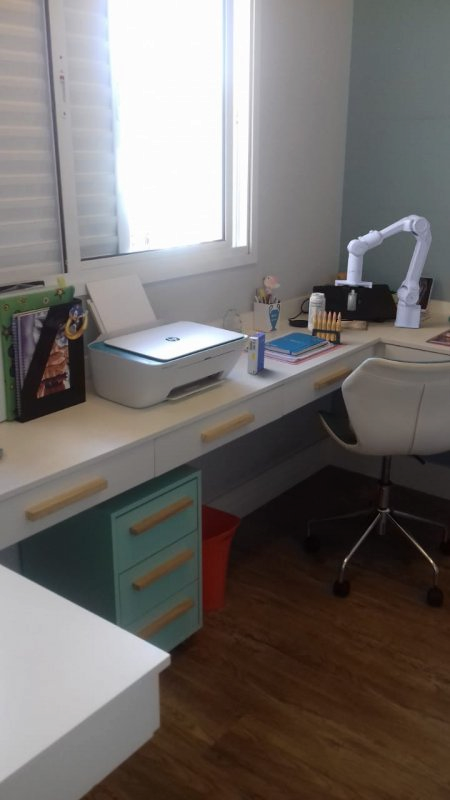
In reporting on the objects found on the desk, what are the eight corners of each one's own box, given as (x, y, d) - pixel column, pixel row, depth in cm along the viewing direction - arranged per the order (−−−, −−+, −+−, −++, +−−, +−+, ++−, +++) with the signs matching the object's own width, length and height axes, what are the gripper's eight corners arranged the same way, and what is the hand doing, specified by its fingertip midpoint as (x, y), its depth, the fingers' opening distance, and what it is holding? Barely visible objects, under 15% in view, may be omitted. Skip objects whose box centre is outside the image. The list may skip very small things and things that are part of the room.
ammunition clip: (311, 341, 274) (313, 310, 270) (311, 340, 276) (314, 309, 272) (339, 344, 271) (342, 313, 267) (340, 343, 273) (342, 312, 269)
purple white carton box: (256, 366, 243) (257, 331, 239) (263, 367, 242) (265, 332, 238) (246, 372, 236) (248, 336, 232) (254, 374, 235) (256, 338, 231)
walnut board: (366, 323, 303) (366, 321, 303) (365, 330, 292) (366, 328, 292) (334, 321, 306) (335, 319, 305) (333, 328, 295) (333, 326, 294)
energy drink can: (325, 331, 289) (328, 293, 284) (319, 334, 285) (322, 296, 279) (311, 329, 292) (314, 291, 287) (305, 332, 287) (307, 294, 282)
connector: (355, 307, 299) (357, 289, 297) (355, 310, 294) (356, 292, 291) (347, 307, 300) (349, 288, 297) (347, 310, 294) (348, 291, 291)
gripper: (335, 271, 289) (333, 305, 294) (373, 273, 286) (369, 307, 291) (336, 268, 295) (334, 301, 300) (373, 270, 293) (370, 303, 298)
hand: (351, 304), depth 296 cm, fingers closed on connector, 3 cm apart
